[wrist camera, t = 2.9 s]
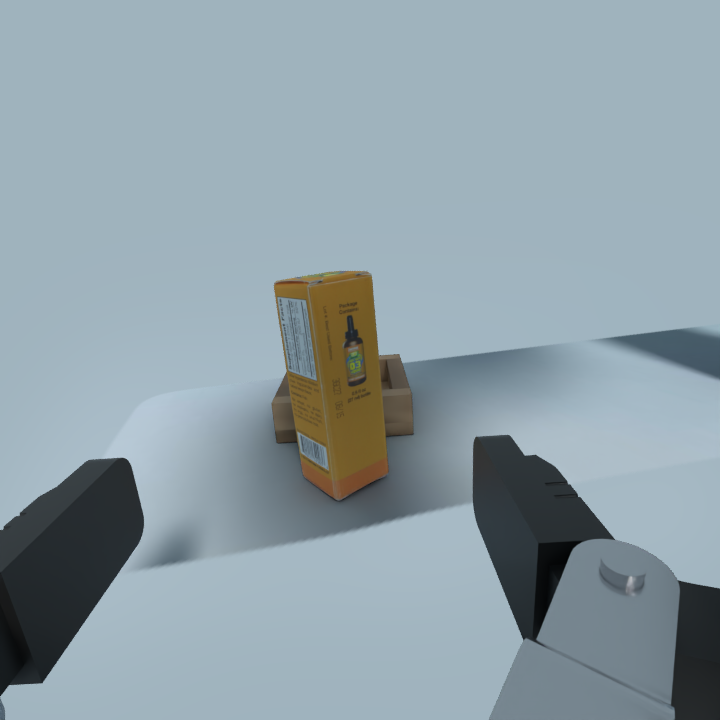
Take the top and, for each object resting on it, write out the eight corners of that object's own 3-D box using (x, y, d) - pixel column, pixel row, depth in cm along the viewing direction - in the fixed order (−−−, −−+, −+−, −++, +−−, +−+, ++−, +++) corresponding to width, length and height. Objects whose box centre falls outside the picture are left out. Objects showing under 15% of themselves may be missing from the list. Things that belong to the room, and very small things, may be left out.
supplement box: (349, 452, 24) (333, 267, 21) (390, 477, 22) (379, 270, 19) (296, 476, 22) (270, 276, 19) (335, 506, 20) (312, 281, 17)
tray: (400, 385, 33) (399, 354, 33) (413, 434, 26) (411, 394, 25) (295, 392, 33) (291, 361, 33) (277, 443, 26) (271, 403, 25)
